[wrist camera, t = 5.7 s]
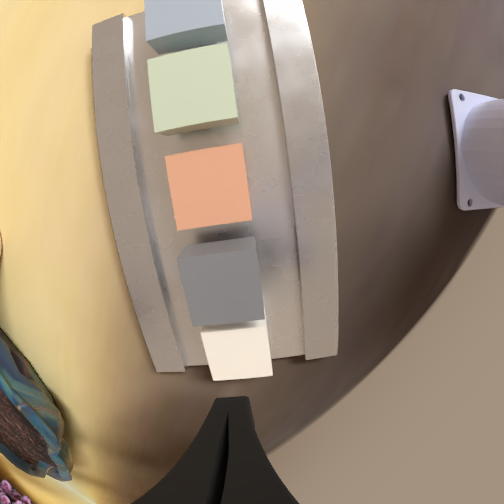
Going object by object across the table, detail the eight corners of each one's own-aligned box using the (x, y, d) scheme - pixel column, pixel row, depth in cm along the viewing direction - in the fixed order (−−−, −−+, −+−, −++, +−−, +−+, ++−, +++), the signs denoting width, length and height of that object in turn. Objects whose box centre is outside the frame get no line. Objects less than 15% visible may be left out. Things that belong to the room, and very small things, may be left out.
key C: (242, 145, 14) (241, 143, 12) (252, 212, 15) (252, 220, 13) (175, 156, 14) (164, 156, 12) (186, 221, 15) (177, 230, 13)
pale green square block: (230, 57, 12) (227, 42, 10) (239, 123, 13) (237, 117, 11) (160, 71, 12) (147, 59, 10) (167, 136, 13) (154, 132, 11)
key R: (254, 236, 14) (255, 248, 12) (263, 299, 15) (264, 319, 13) (186, 245, 14) (176, 258, 12) (199, 306, 15) (192, 326, 13)
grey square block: (220, -10, 10) (216, -30, 8) (227, 40, 11) (224, 23, 9) (155, 4, 10) (144, -13, 8) (158, 54, 11) (146, 41, 10)
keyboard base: (296, -4, 12) (300, -17, 11) (334, 340, 19) (340, 354, 17) (101, 34, 12) (89, 26, 11) (160, 357, 19) (154, 372, 18)
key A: (264, 307, 17) (266, 326, 15) (270, 354, 18) (272, 375, 16) (205, 313, 17) (200, 332, 15) (216, 360, 18) (213, 380, 16)
